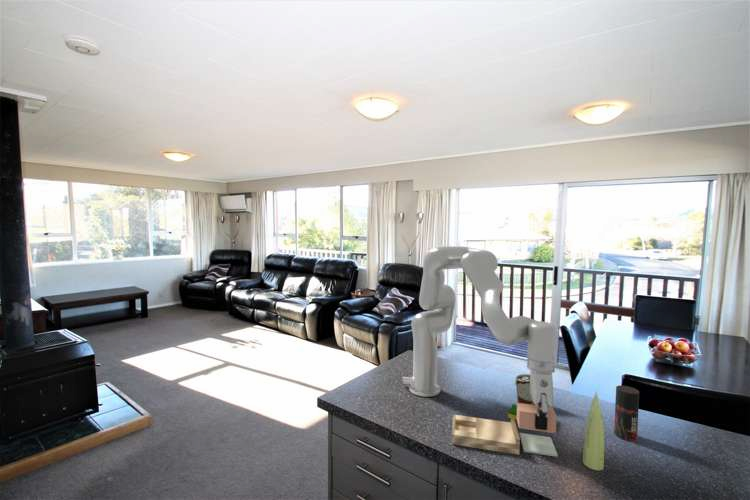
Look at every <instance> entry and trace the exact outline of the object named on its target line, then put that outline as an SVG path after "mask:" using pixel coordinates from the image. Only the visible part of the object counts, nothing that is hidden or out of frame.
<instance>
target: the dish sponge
mask: <svg viewBox="0 0 750 500" xmlns="http://www.w3.org/2000/svg"><path fill="white" fill-rule="evenodd" d="M507 415H508V418H509V419H511V418H514V419H515V421H517V404H514V403H512V405H511V406H510V408H509V411H508V413H507Z"/></svg>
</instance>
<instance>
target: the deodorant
mask: <svg viewBox="0 0 750 500" xmlns="http://www.w3.org/2000/svg"><path fill="white" fill-rule="evenodd" d="M639 402H640V391H639V389H636V388H634V387H631V386H627V385H617V386H616V387H615V403H614V404H615V405H614V406H615V409H614V422H613V423H614V425H613V427H614V428H613V434H614V436H616V437H617V438H618V439H621V440H623V441H627V442H637V440H638V428H639V426H638V424H639V409H640V408H639V406H640V403H639Z"/></svg>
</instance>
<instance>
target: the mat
mask: <svg viewBox="0 0 750 500" xmlns="http://www.w3.org/2000/svg"><path fill="white" fill-rule="evenodd" d="M518 434H519V438H520V442H521V443H520V444H521V446H522V451H523V452H524V453H531V454H536V455H544V456H549V457H550V456H552V457H557V458H558V457H559V455H558V452H557V450H556V448H555V445H554V443H553V442H554V441H553V440H552V438H551V437H552V436H551V437H550V436H545V435H537V434H530V433H523V432H518Z"/></svg>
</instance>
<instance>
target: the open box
mask: <svg viewBox="0 0 750 500" xmlns="http://www.w3.org/2000/svg"><path fill="white" fill-rule="evenodd" d="M451 425H452V426H451V445H455V446H463V447H468V448H474V449H479V450H481V449H482V450H487V451H493V452H500V453H505V454H506V453H507V454H511V455H518V456H519V455H520V449H521V447H520V445H521V443H520V442H521V439H520V435H519V431H518V427H517V424H516V419H514V418H510V421H503V420H496V419H495V420H494V419H486V418H481V417H474V416H473V417H472V416H467V415H460V414H459V415H458V414H453V416H452V424H451Z"/></svg>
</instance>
